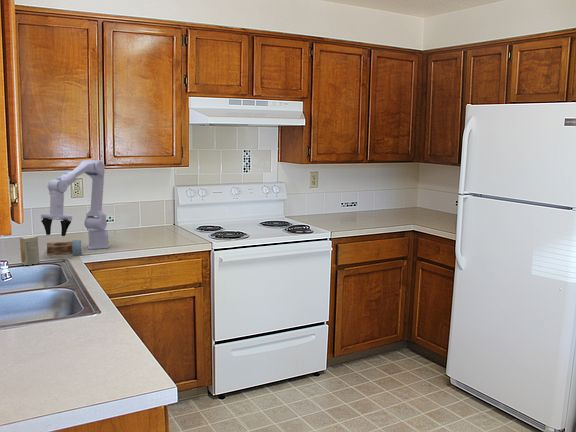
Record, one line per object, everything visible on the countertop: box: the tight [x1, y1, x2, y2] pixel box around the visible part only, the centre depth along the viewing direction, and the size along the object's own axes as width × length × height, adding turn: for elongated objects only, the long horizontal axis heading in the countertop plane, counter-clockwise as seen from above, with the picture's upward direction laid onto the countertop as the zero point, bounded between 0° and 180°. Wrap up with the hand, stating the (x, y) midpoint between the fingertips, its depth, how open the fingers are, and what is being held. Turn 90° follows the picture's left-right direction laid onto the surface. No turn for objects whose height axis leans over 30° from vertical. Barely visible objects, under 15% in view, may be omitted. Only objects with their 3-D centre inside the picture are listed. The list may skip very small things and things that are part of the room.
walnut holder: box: [46, 241, 73, 256], centre depth 276 cm, size 12×12×4 cm
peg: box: [71, 239, 83, 257], centre depth 270 cm, size 4×4×7 cm
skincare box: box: [19, 235, 40, 266], centre depth 250 cm, size 6×4×12 cm
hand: (55, 235), depth 262 cm, fingers open, 7 cm apart
